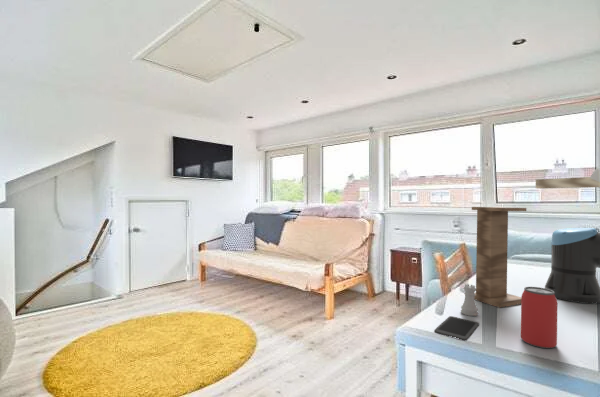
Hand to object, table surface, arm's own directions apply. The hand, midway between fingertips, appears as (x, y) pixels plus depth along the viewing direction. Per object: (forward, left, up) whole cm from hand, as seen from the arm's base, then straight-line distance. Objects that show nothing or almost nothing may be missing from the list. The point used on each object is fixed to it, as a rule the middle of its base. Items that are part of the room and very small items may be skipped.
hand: (599, 173), depth 81 cm
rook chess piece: (+25, +13, -39) cm, 48 cm away
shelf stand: (+25, -7, -39) cm, 47 cm away
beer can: (+7, +20, -39) cm, 45 cm away
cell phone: (+22, +26, -40) cm, 53 cm away
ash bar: (+3, -1, -3) cm, 5 cm away
